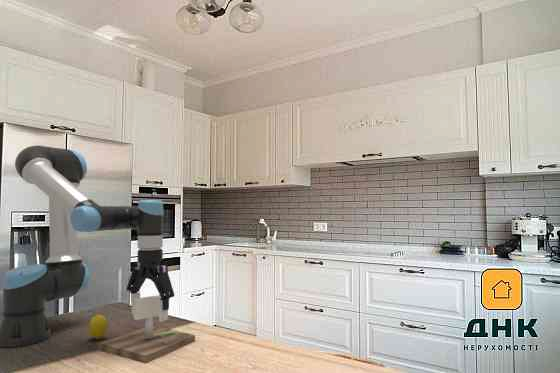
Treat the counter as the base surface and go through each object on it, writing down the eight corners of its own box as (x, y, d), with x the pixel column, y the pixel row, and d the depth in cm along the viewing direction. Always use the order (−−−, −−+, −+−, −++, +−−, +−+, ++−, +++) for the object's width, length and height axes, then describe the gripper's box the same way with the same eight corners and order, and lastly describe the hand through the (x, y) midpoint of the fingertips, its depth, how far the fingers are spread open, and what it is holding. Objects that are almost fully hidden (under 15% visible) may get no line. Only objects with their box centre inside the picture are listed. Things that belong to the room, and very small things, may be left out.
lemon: (99, 342, 123) (100, 317, 124) (84, 341, 124) (85, 316, 125) (110, 337, 129) (111, 312, 129) (96, 335, 130) (96, 311, 130)
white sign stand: (135, 342, 117) (135, 300, 118) (132, 339, 119) (133, 298, 120) (177, 333, 125) (178, 294, 126) (175, 331, 127) (175, 292, 128)
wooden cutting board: (99, 350, 117) (99, 342, 117) (150, 331, 134) (150, 325, 134) (145, 363, 107) (146, 355, 107) (195, 341, 125) (195, 334, 125)
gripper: (186, 250, 118) (185, 320, 117) (136, 245, 132) (134, 308, 131) (167, 252, 112) (166, 327, 111) (116, 247, 126) (114, 313, 125)
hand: (149, 317), depth 121 cm, fingers open, 13 cm apart
